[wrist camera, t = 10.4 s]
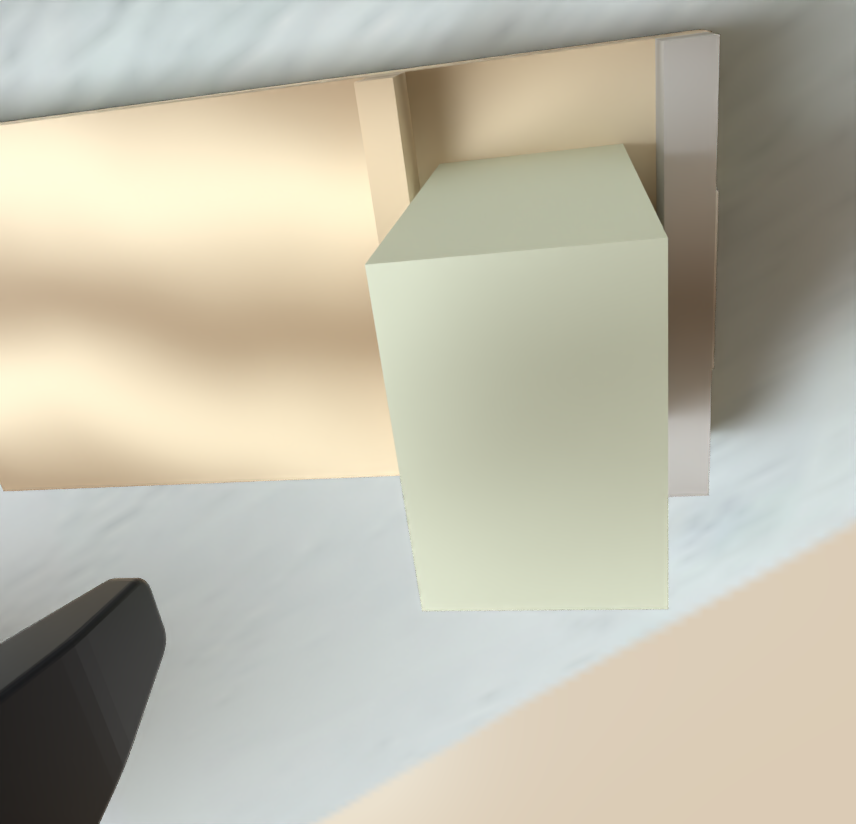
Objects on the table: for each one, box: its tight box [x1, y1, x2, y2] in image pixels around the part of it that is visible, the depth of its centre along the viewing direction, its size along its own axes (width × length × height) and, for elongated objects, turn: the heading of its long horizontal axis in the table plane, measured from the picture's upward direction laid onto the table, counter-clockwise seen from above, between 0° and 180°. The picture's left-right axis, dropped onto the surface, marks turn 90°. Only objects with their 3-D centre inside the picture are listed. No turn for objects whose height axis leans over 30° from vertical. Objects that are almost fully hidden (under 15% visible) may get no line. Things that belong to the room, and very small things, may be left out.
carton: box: [365, 144, 668, 611], centre depth 16 cm, size 4×6×8 cm, turn 7°
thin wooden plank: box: [0, 29, 720, 497], centre depth 20 cm, size 10×20×3 cm, turn 97°
